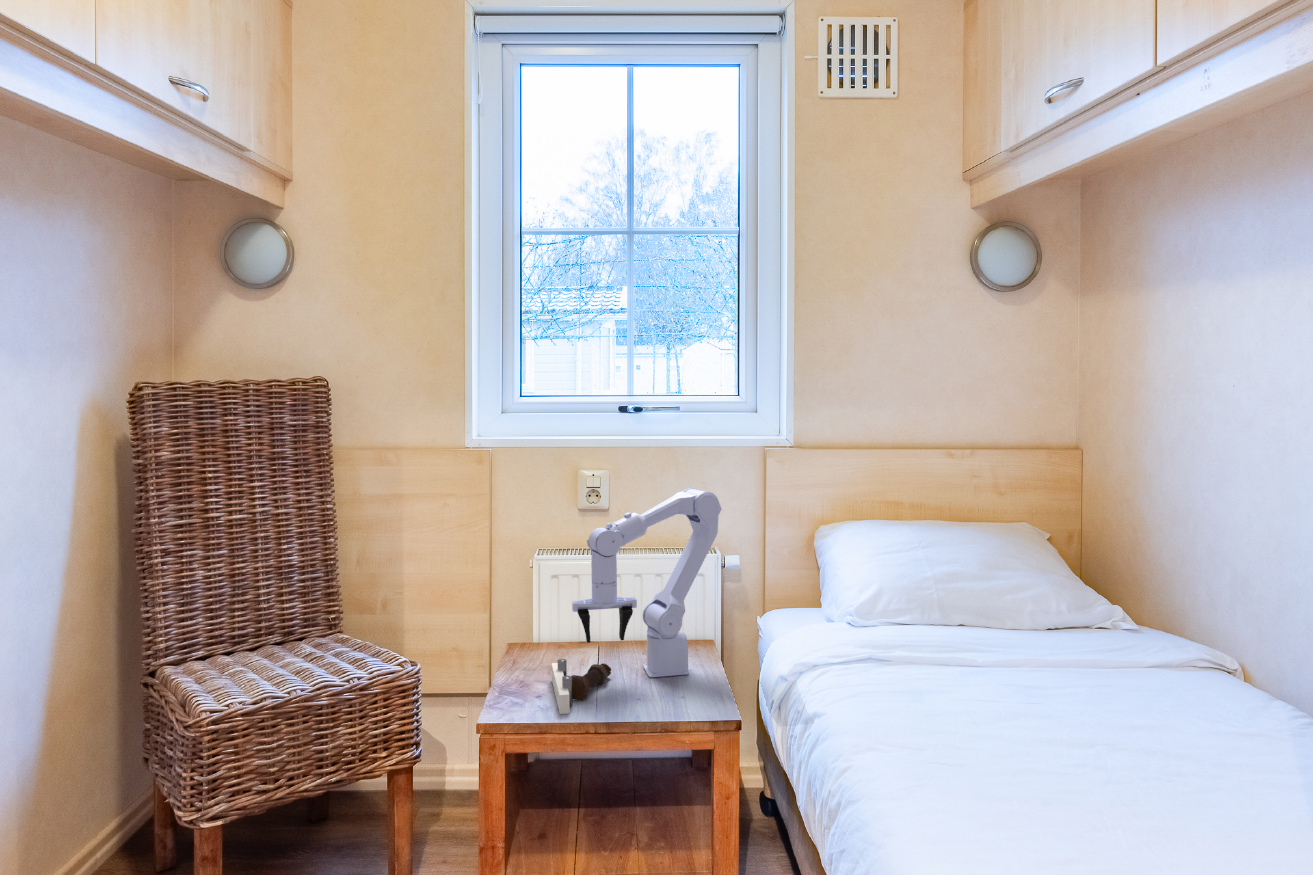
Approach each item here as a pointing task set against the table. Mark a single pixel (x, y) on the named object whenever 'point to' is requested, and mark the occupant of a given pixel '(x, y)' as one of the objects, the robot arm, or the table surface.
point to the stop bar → (562, 686)
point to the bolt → (589, 681)
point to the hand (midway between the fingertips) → (605, 640)
